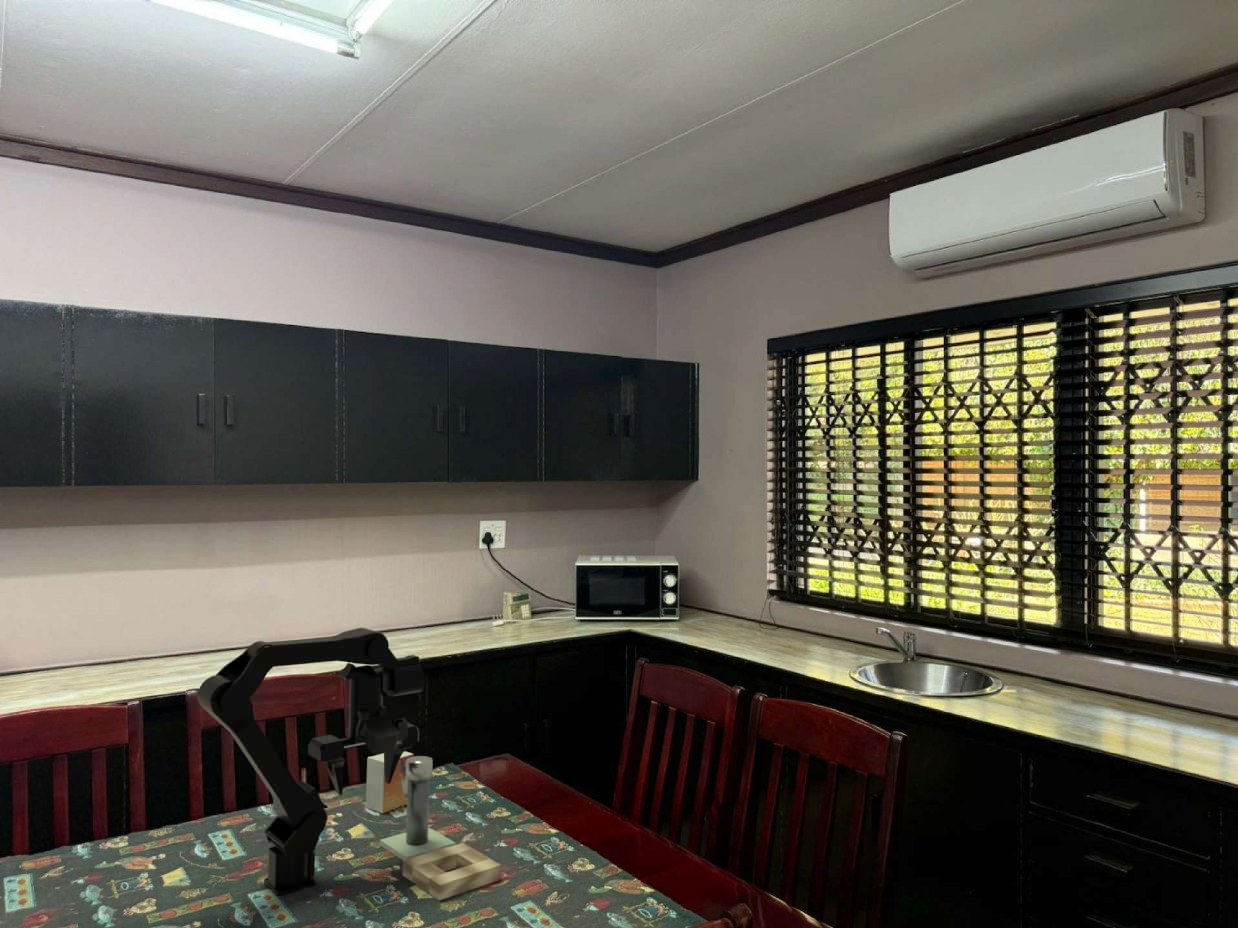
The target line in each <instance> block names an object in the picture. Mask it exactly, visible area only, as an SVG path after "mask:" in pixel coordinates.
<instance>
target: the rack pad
mask: <svg viewBox="0 0 1238 928" xmlns="http://www.w3.org/2000/svg"><path fill="white" fill-rule="evenodd" d="M454 845H456V842H455V841H453V840H451V839H450V838H449V837H446V836H444V835H443V834H441V833H440V832H437V831H436V830H434V829H433V828H430V827H429V826H428V842H427V843H426V844H424V845H420V846H411V845H408V844H407V843H406V832H402V833H399V834H396V835H392V836H389V837H385V838H382V839H380V840H379V846H381V847H382V848H383V849H385V850H386V851H388V852H390V853H391V854H392V855H394V856H396V857H397V858H399V859H400V860H401V861H402V862H403V861H404V860H407V859H411V858H414V857H417V856H421V855H424V854H427V853H431V852H434V851H437V850H441V849H444V848H447V847H451V846H454Z"/></svg>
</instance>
